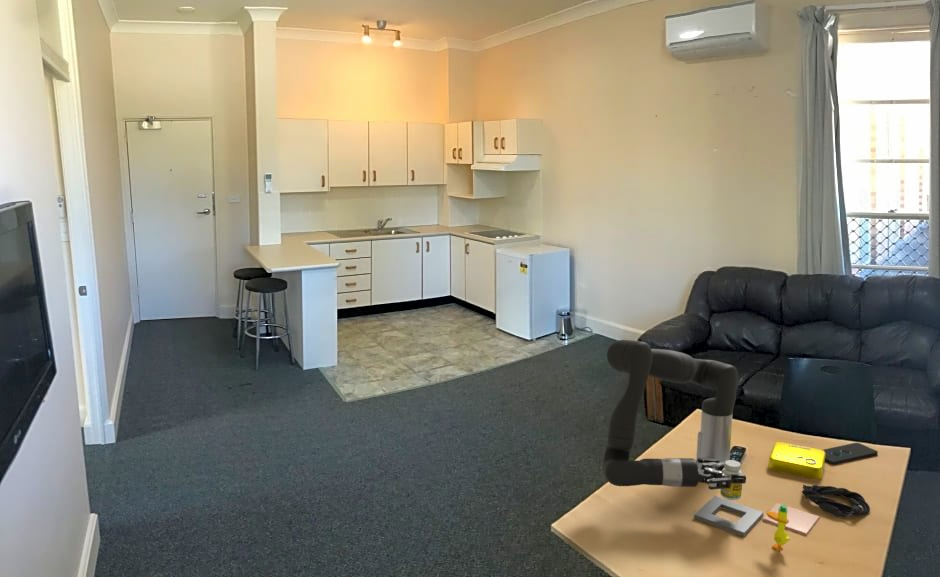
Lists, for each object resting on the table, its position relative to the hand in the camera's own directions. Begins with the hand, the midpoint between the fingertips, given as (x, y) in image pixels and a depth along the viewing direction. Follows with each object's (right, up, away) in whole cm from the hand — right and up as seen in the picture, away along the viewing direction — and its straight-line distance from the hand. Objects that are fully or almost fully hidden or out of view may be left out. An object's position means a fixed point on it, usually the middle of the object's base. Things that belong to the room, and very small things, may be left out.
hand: (741, 473), depth 180 cm
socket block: (-3, -13, +3) cm, 13 cm away
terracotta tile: (+14, -13, +1) cm, 19 cm away
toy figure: (+4, -16, -12) cm, 20 cm away
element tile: (+31, -7, +32) cm, 45 cm away
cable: (+30, -11, +9) cm, 33 cm away
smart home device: (+50, -5, +39) cm, 63 cm away
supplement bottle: (-2, -7, +2) cm, 7 cm away
